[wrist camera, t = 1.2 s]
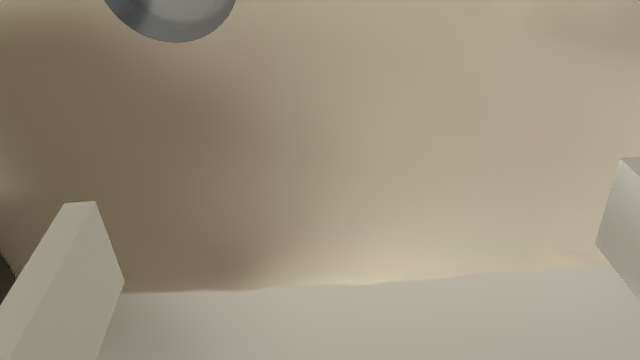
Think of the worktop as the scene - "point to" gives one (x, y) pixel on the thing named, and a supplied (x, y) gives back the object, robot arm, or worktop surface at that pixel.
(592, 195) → the worktop surface
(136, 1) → the pipe stub
